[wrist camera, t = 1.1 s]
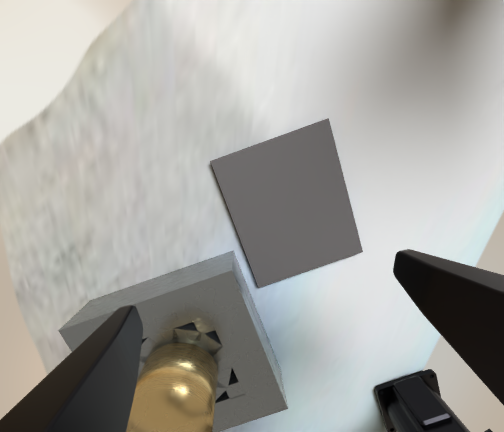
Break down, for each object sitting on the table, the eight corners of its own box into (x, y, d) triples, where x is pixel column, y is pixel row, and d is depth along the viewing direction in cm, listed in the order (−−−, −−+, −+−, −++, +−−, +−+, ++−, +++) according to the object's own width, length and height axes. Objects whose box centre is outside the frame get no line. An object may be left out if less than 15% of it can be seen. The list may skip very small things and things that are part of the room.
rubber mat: (359, 249, 22) (362, 252, 22) (258, 284, 23) (258, 287, 22) (325, 119, 20) (328, 118, 19) (211, 161, 20) (210, 161, 19)
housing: (280, 370, 25) (288, 408, 21) (154, 412, 25) (139, 457, 21) (233, 250, 22) (232, 270, 18) (90, 300, 22) (58, 330, 18)
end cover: (230, 355, 24) (226, 446, 16) (173, 375, 24) (142, 473, 16) (207, 304, 22) (191, 377, 15) (147, 325, 22) (100, 408, 15)
